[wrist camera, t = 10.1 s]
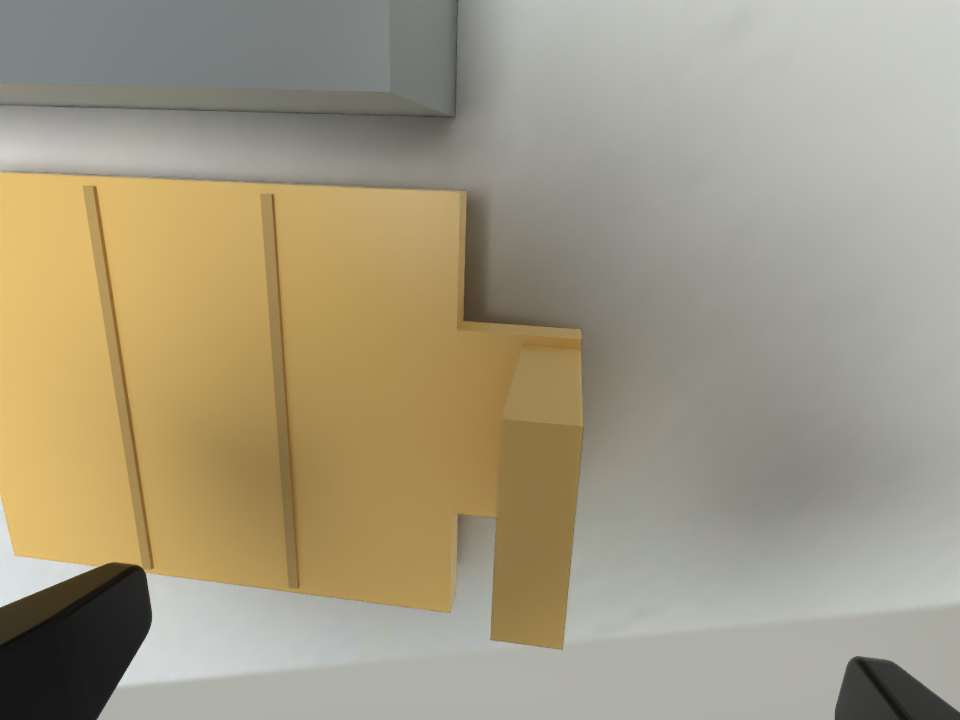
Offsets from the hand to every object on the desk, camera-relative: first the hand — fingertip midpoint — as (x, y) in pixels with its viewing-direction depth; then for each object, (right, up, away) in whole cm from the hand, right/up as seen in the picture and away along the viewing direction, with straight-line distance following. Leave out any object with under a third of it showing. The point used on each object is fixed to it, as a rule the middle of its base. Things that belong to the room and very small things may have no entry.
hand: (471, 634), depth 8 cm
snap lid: (-5, +3, +8) cm, 10 cm away
